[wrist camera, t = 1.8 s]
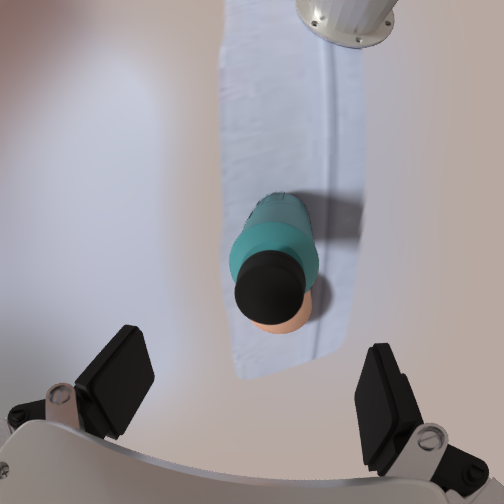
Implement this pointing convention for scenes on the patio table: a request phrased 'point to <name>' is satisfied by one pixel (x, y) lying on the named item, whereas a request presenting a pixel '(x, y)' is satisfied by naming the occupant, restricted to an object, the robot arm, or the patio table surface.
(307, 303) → the tan rounded flat piece
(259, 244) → the beverage bottle
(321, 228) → the patio table surface
